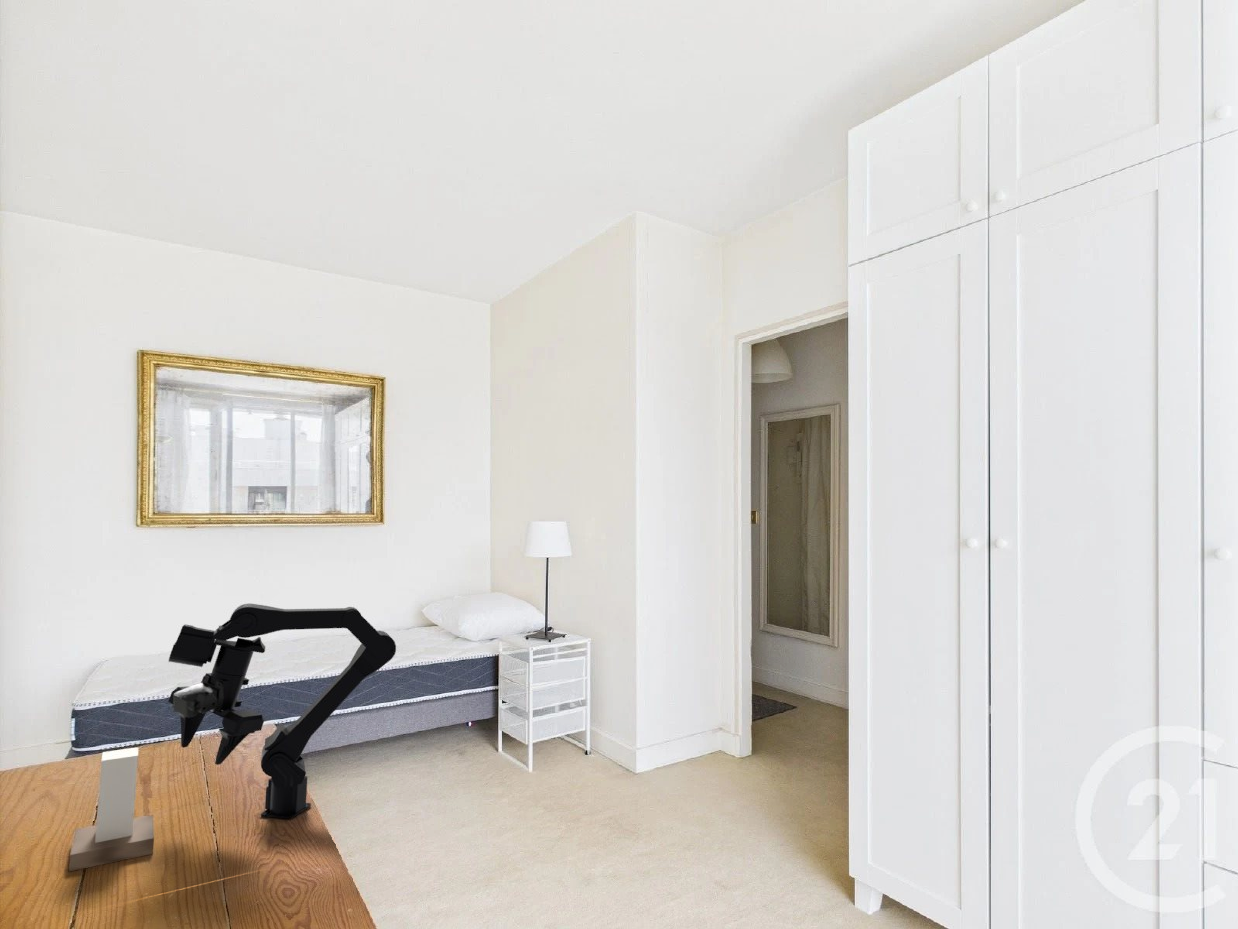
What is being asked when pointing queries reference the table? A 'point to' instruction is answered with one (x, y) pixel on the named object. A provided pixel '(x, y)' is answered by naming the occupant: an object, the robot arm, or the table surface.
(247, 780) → the table surface
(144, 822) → the walnut plinth
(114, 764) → the cream block
